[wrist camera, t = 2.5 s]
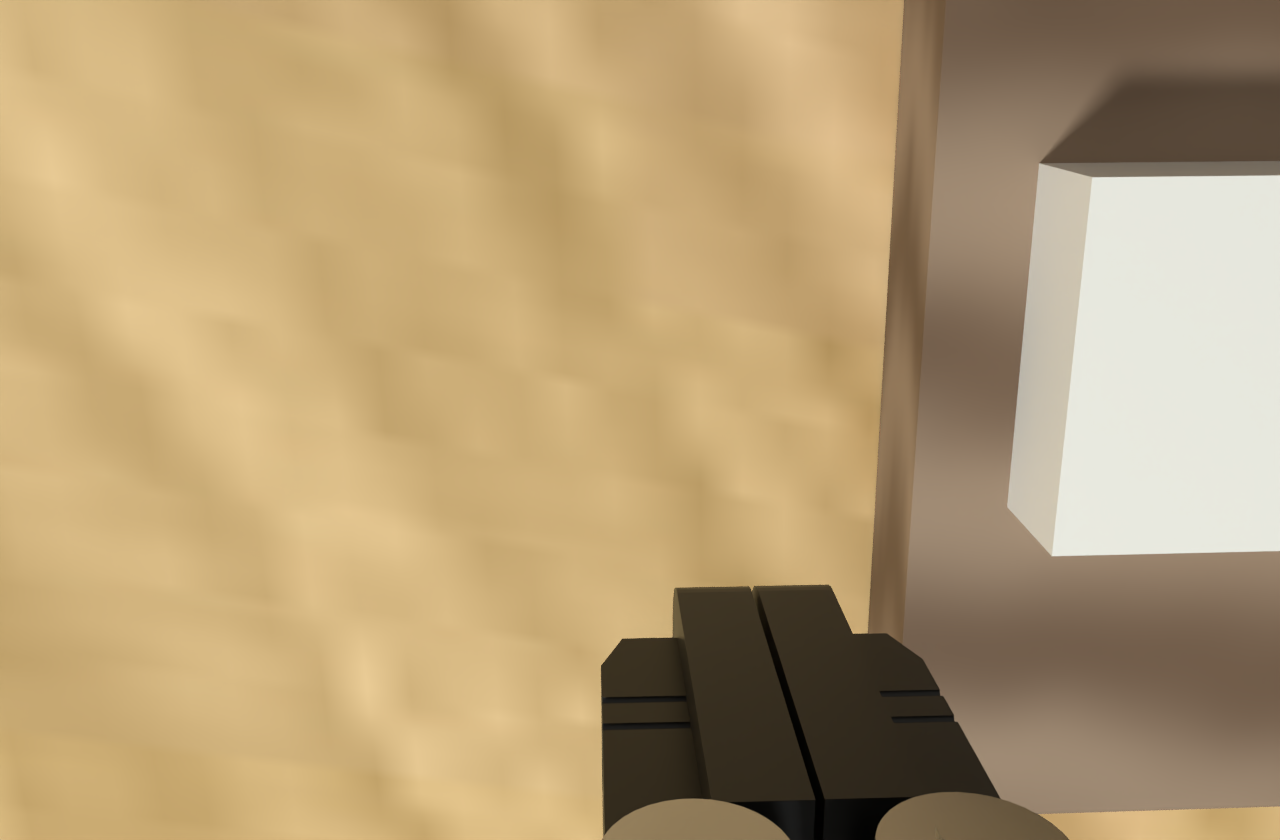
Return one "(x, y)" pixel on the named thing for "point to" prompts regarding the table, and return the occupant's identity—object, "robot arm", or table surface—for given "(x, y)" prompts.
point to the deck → (987, 398)
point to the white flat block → (1151, 360)
